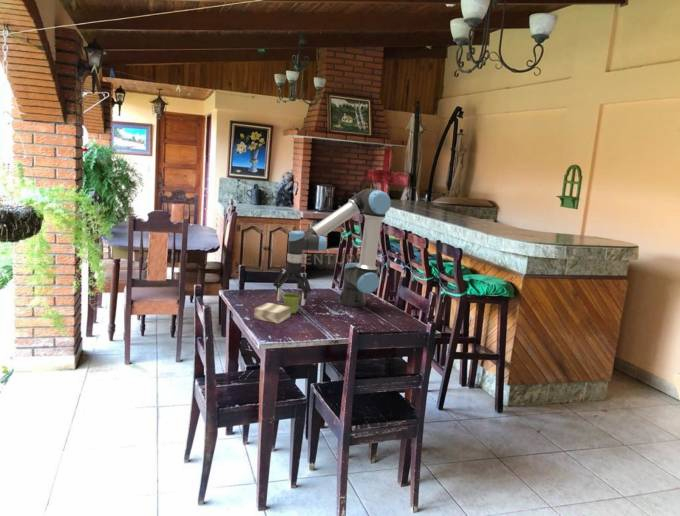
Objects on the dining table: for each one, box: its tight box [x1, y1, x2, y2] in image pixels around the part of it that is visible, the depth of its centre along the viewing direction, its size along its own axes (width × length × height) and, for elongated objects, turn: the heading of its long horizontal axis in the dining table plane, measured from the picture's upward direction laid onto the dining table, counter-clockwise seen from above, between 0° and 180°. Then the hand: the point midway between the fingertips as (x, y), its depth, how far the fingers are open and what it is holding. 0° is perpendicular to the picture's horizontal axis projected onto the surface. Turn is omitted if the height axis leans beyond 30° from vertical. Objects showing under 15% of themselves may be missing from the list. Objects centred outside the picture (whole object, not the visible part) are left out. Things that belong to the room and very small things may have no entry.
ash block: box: [253, 302, 291, 324], centre depth 257 cm, size 13×13×5 cm
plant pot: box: [281, 292, 302, 315], centre depth 269 cm, size 9×9×9 cm
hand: (290, 302), depth 268 cm, fingers open, 13 cm apart
